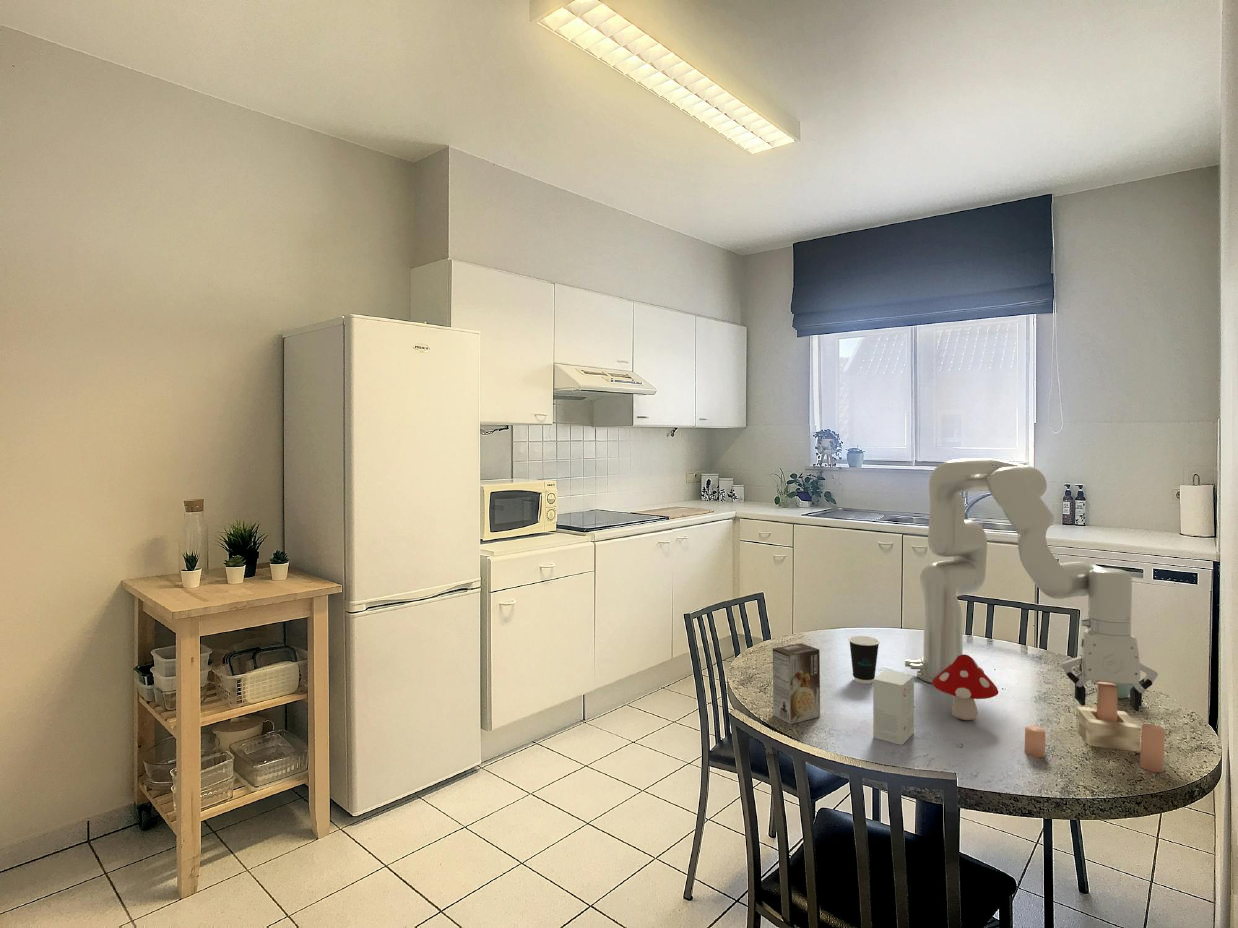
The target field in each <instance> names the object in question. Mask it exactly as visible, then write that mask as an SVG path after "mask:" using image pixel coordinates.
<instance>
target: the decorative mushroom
mask: <svg viewBox="0 0 1238 928" xmlns="http://www.w3.org/2000/svg"><path fill="white" fill-rule="evenodd" d="M931 684H932V687H934V688H935V689H937V690H938V691H940V692H941V693H944V694H945V695H949V696H952V697H954V698H953V700H952V704H951V709H950V712H951V714H952V716H954V717H955V718H957V719H959V720H961V721H972V720H973V721H974V720H975V719H977V717H978V715H979V714H978V713H979V712H978V708H977V704H976V701H975V700H987V699H992V698H993V697H996V696H998V695H999V688H998V687H997V686H996V685H995V683H994V682H993V681H992V679H990V678H989V676H987V675H986V673H985V671H984V669H983V668H982V667H979V664H978V663H977V662H976V660H975V659H974V658H973V657H971V656H970V655H968V654H962V655H960V656H957V657H955V658H954V659H953V660H952V661H951V664H950V665H949V666H948V667H947V668H946V669H944V670H943V671H942V672H941V673H939V674H938V675H937V676H936V677H935V678H934V679H933V681H932V683H931Z"/></svg>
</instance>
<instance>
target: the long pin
mask: <svg viewBox="0 0 1238 928" xmlns="http://www.w3.org/2000/svg"><path fill="white" fill-rule="evenodd" d="M1118 700H1119V698H1118V686H1117V685H1116V684H1113V683H1108V682H1097V685H1096V709H1097V717H1096V719H1097V720H1103V721H1113V722H1117V711H1118Z"/></svg>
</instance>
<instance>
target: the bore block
mask: <svg viewBox="0 0 1238 928" xmlns="http://www.w3.org/2000/svg"><path fill="white" fill-rule="evenodd" d="M1096 717H1097V707H1096V708H1093V707H1084V706H1076V720H1075V721H1076V726H1075V729H1076V730H1077V731H1078V733H1079V735H1081V737H1082V739H1083V740H1084V741H1085V743H1086V744H1087V745H1088V746H1089V747H1097V748H1104V749H1112V750H1113V749H1114V750H1122V751H1129V752H1138V753H1141V727H1140V725H1138V724H1137V723H1136V722H1135V720H1133V719H1132V718H1131V717H1130V715H1129V714H1128V713H1127V712H1126V711H1122V710H1117V722H1113V721H1103V720H1097V719H1096Z"/></svg>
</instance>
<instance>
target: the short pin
mask: <svg viewBox="0 0 1238 928" xmlns="http://www.w3.org/2000/svg"><path fill="white" fill-rule="evenodd" d="M1024 753H1025V754H1026V755H1028V756H1030V757H1033V758H1041V759H1042V758H1045V757H1046V730H1045V729H1044V728H1042V727H1040V726H1036V725H1035V726H1034V725H1027V726H1024Z"/></svg>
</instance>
